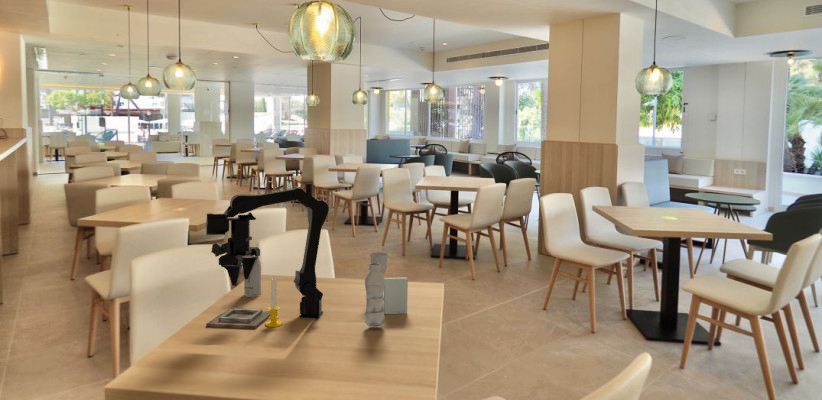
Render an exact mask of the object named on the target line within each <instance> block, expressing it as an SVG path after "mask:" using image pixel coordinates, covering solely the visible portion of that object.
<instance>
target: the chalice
mask: <svg viewBox="0 0 822 400" xmlns="http://www.w3.org/2000/svg"><path fill="white" fill-rule="evenodd" d="M369 257H370V264H371V263H379V264H381V270H380V272H381V274H382V275H383V277H385V274H386V271H387V269H388V257H389V253H387V252H370V253H369ZM383 301H384V297H383Z"/></svg>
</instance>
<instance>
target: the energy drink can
mask: <svg viewBox="0 0 822 400" xmlns="http://www.w3.org/2000/svg"><path fill="white" fill-rule="evenodd" d="M243 281H244V297H247V298H256V297H259V296H261V295H262V262H261V260H260V257H258V259H257V261H256V263H255V265H254V267H253V269H252V271H251V274H250V276H249V278H248V279H243Z"/></svg>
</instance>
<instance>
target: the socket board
mask: <svg viewBox="0 0 822 400" xmlns="http://www.w3.org/2000/svg"><path fill="white" fill-rule="evenodd" d="M270 316H271V315H270V310H263V309H251V308H250V309H249V308H248V309H247V308H231V309H226V310H225V311H223V312H222V313H221V314H218V315H217V316H216V317H214V318H213V319H211V320H209V321H208V322H207V323H206V324H205V325H206V327H207V328H225V329H226V328H227V329H247V330H249V329H251V330H256V329H257V328H258V327H260V326H261V325H263V324H264V323H266V322H267V320H269V317H270Z"/></svg>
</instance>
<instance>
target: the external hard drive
mask: <svg viewBox="0 0 822 400" xmlns="http://www.w3.org/2000/svg"><path fill="white" fill-rule="evenodd" d="M384 280H385V284H384V291H383V298H384V300H383V311H384V315H405V314H408V290H409V289H408V287H409V286H408V277H384Z"/></svg>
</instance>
